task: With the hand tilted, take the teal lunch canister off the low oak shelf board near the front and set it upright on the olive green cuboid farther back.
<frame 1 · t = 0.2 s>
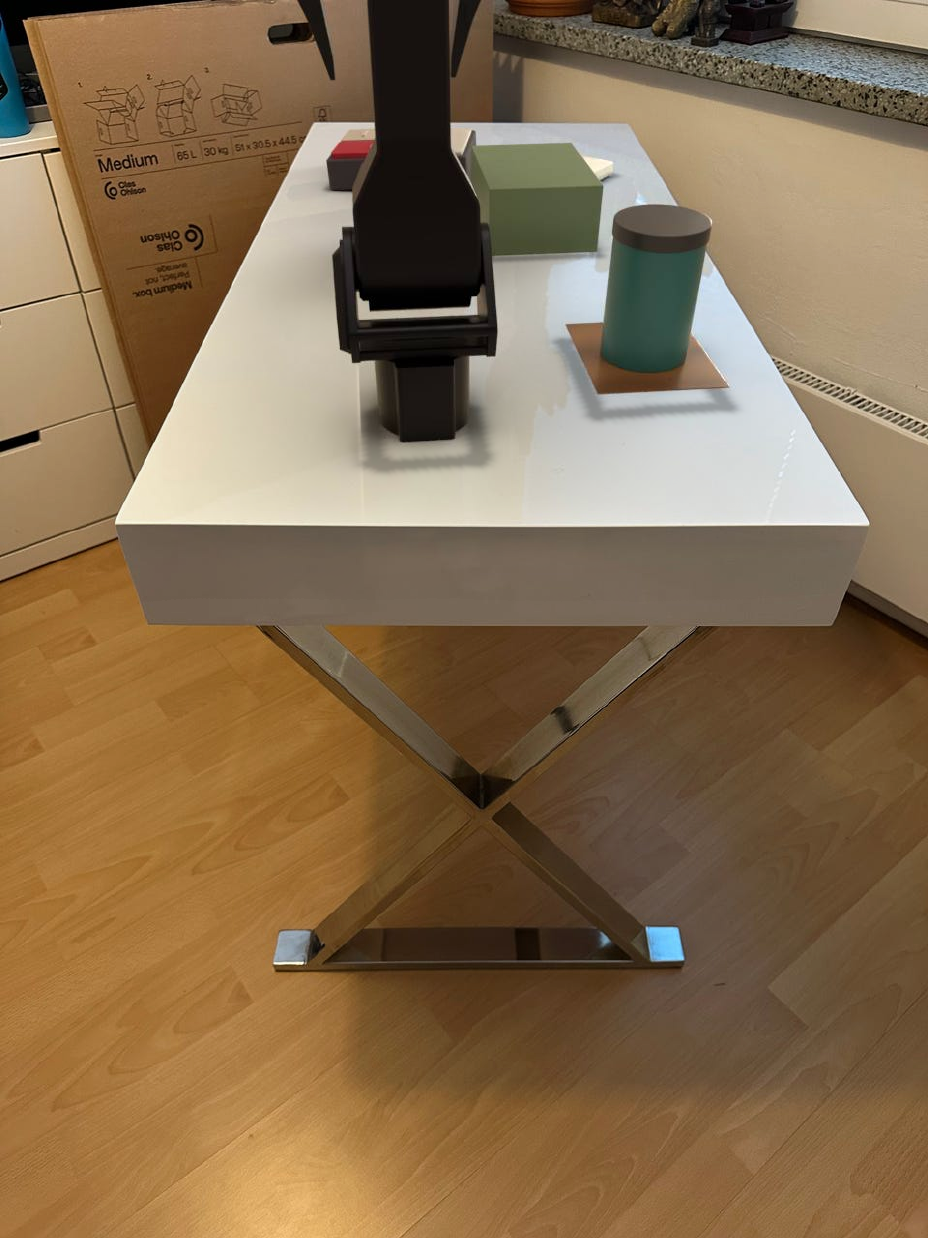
hand: (393, 77, 67), 15 cm above the table, tool pointing down, fingers open, 9 cm apart
hard drive: (552, 185, 96), on the table
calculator: (405, 179, 97), on the table
low shelf: (640, 373, 62), on the table
lunch canister: (643, 353, 61), point 1 cm above the table, touching low shelf
olive green cuboid: (530, 231, 84), on the table
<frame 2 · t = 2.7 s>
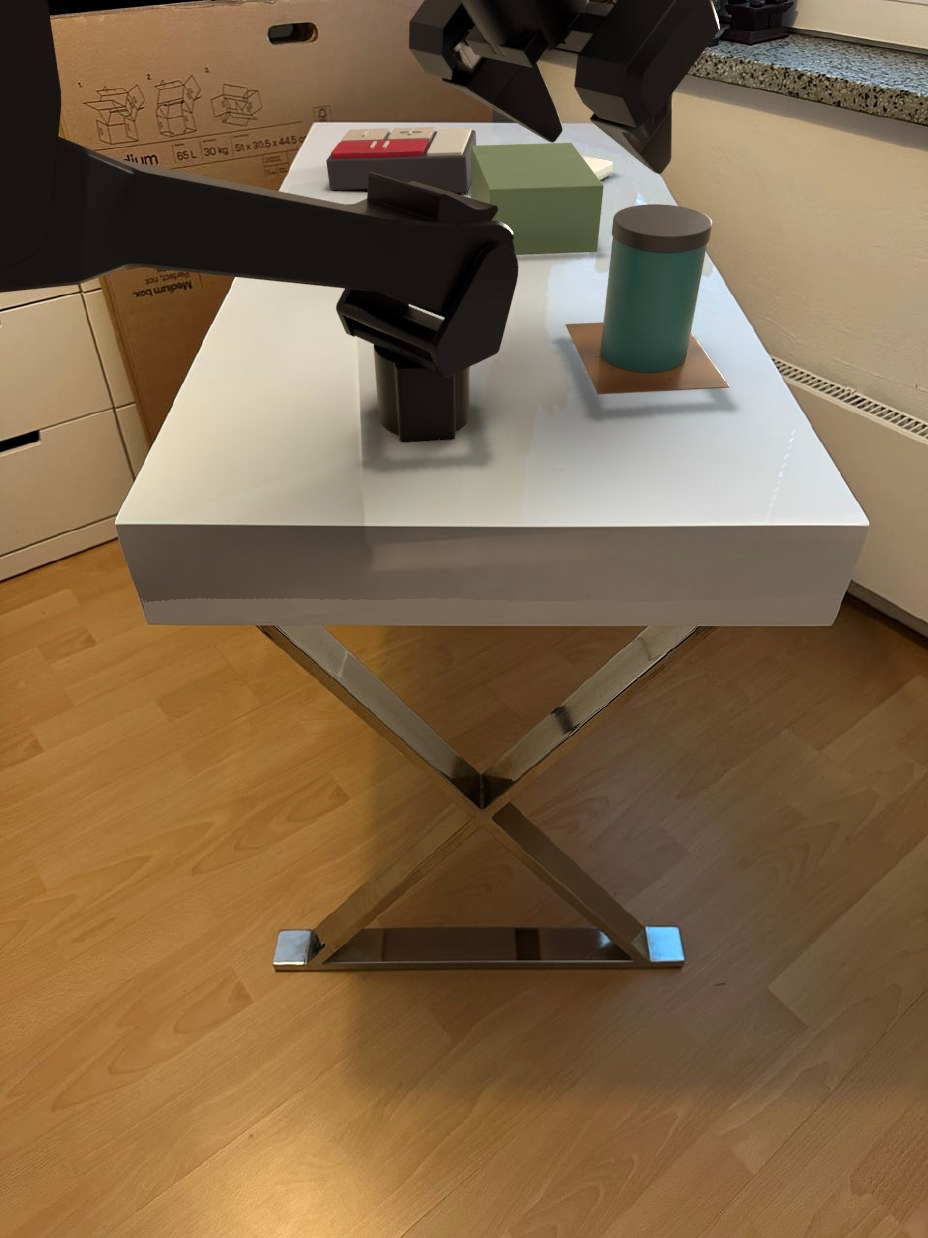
hand: (607, 150, 53), 14 cm above the table, tool tilted 40°, fingers open, 9 cm apart
nothing on the table moved.
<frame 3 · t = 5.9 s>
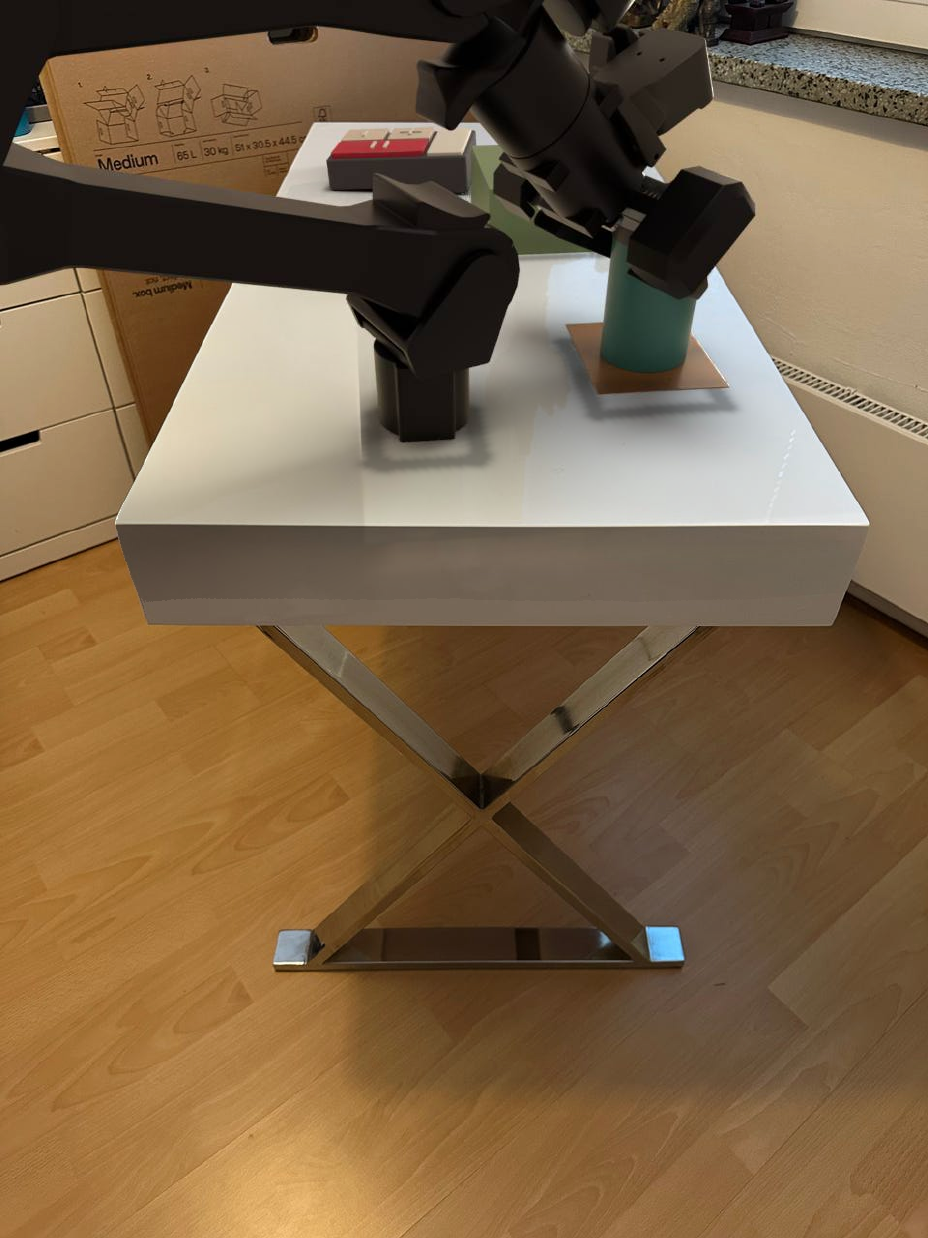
hand: (669, 276, 58), 7 cm above the table, tool tilted 45°, fingers closed on lunch canister, 6 cm apart
lunch canister: (642, 353, 61), point 2 cm above the table, touching gripper, low shelf
everything else where it was.
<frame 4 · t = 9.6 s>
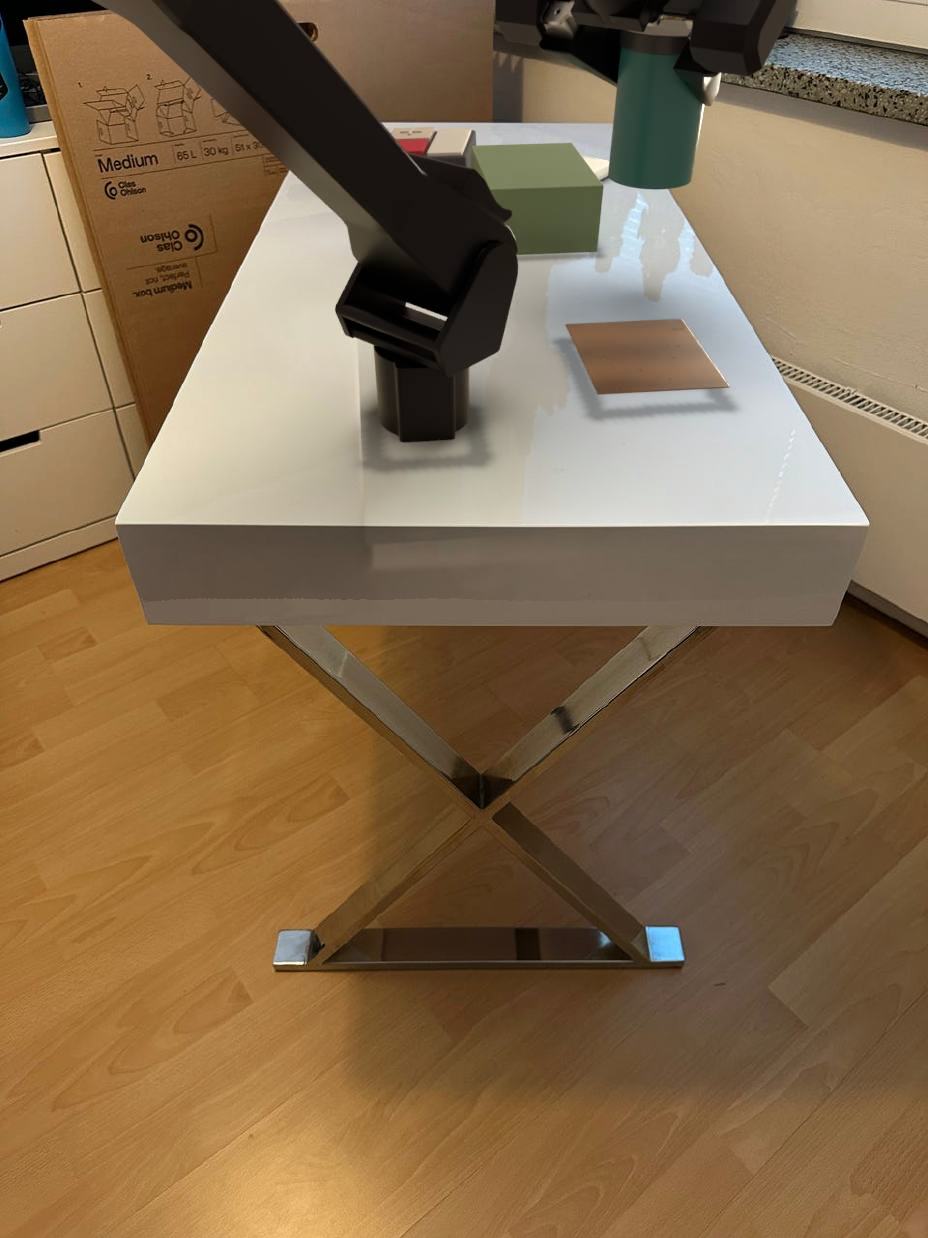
hand: (671, 92, 60), 15 cm above the table, tool tilted 45°, fingers closed on lunch canister, 6 cm apart
lunch canister: (649, 176, 63), point 10 cm above the table, touching gripper
everything else where it was.
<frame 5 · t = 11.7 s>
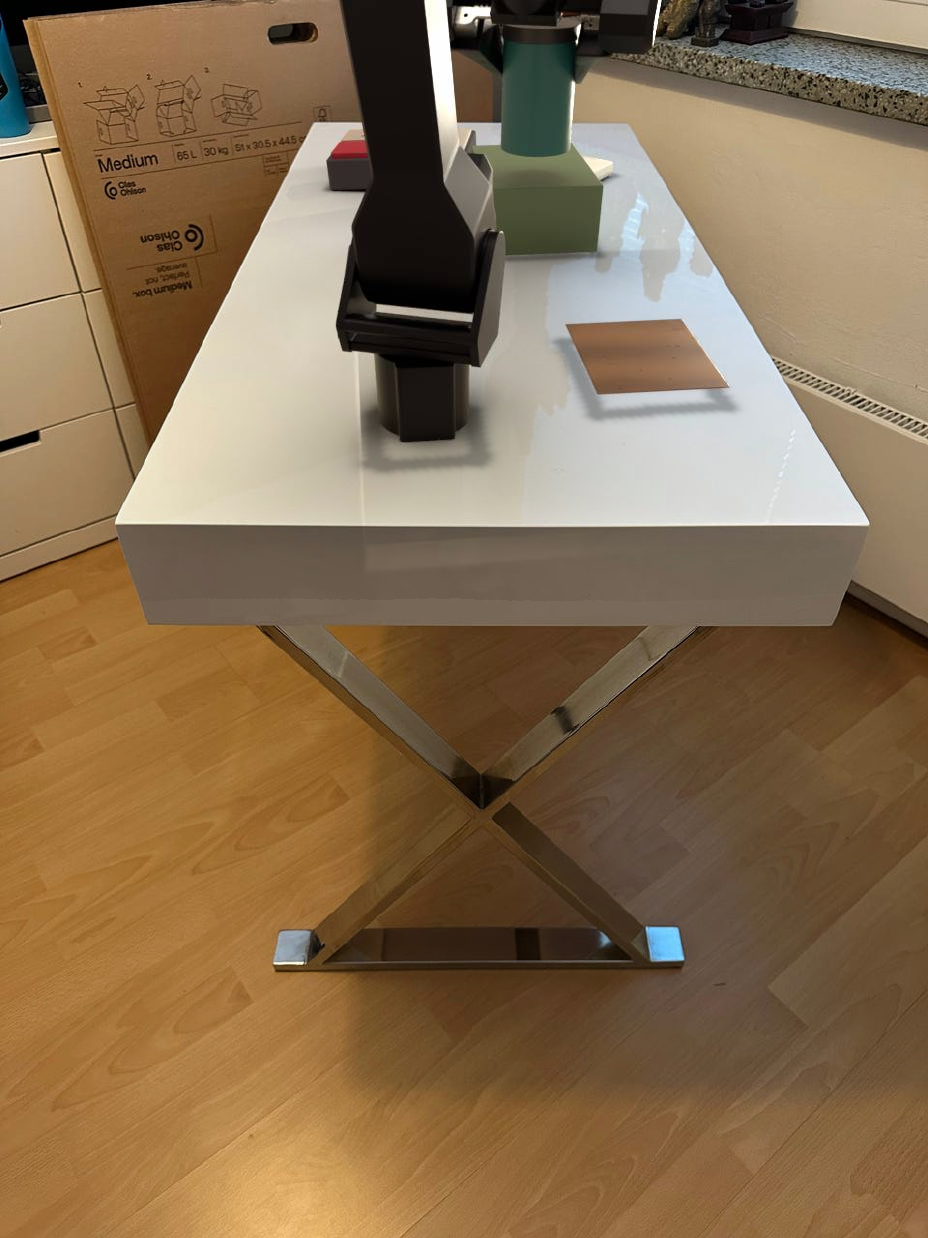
hand: (542, 76, 73), 14 cm above the table, tool tilted 45°, fingers closed on lunch canister, 6 cm apart
lunch canister: (535, 147, 75), point 8 cm above the table, touching gripper
everything else where it was.
when the fingers open (11 cm above the table, at t = 13.3 s): lunch canister stays where it is, resting on olive green cuboid.
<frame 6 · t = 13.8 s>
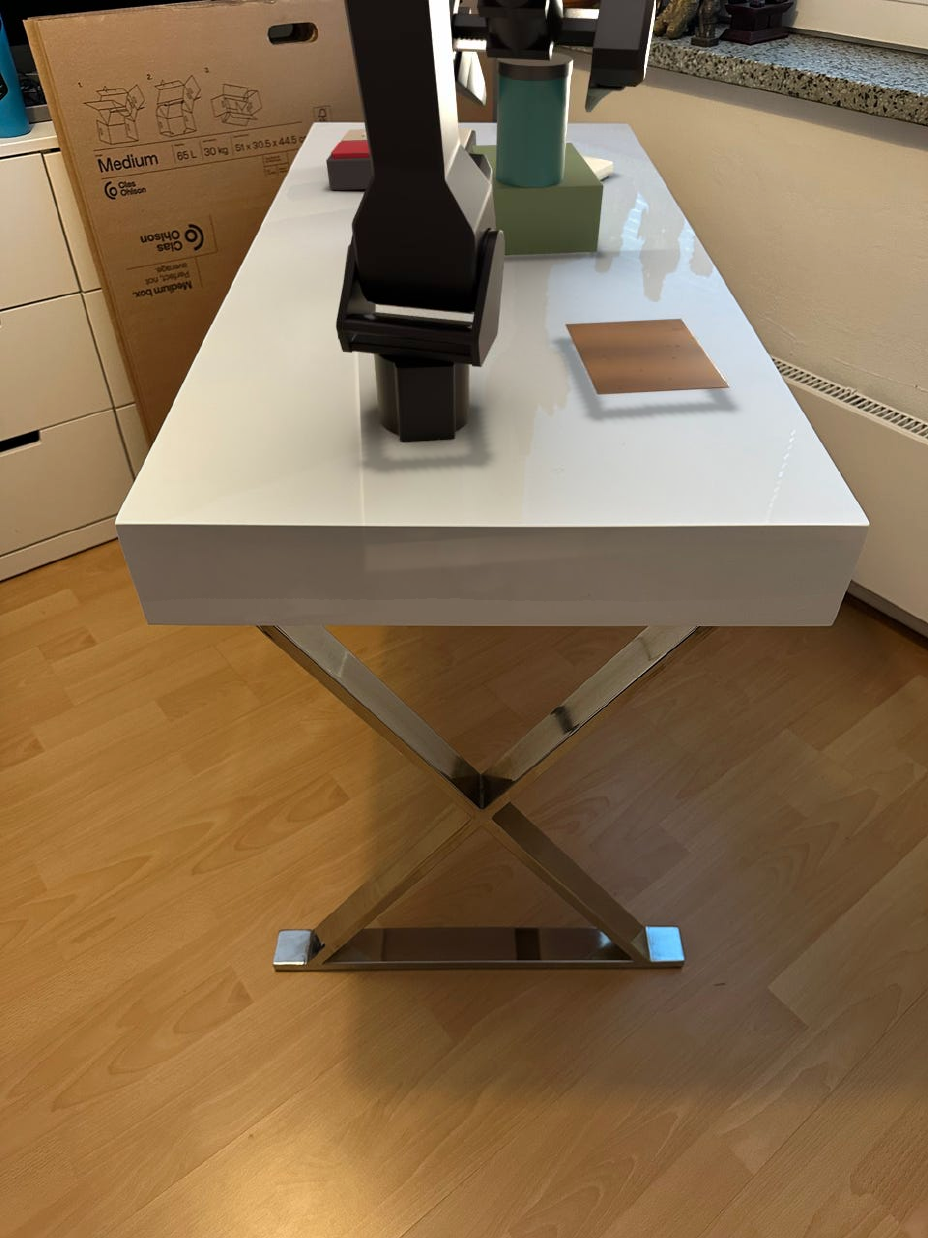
hand: (535, 103, 74), 11 cm above the table, tool tilted 45°, fingers open, 9 cm apart
lunch canister: (529, 177, 77), point 6 cm above the table, touching olive green cuboid
everything else where it was.
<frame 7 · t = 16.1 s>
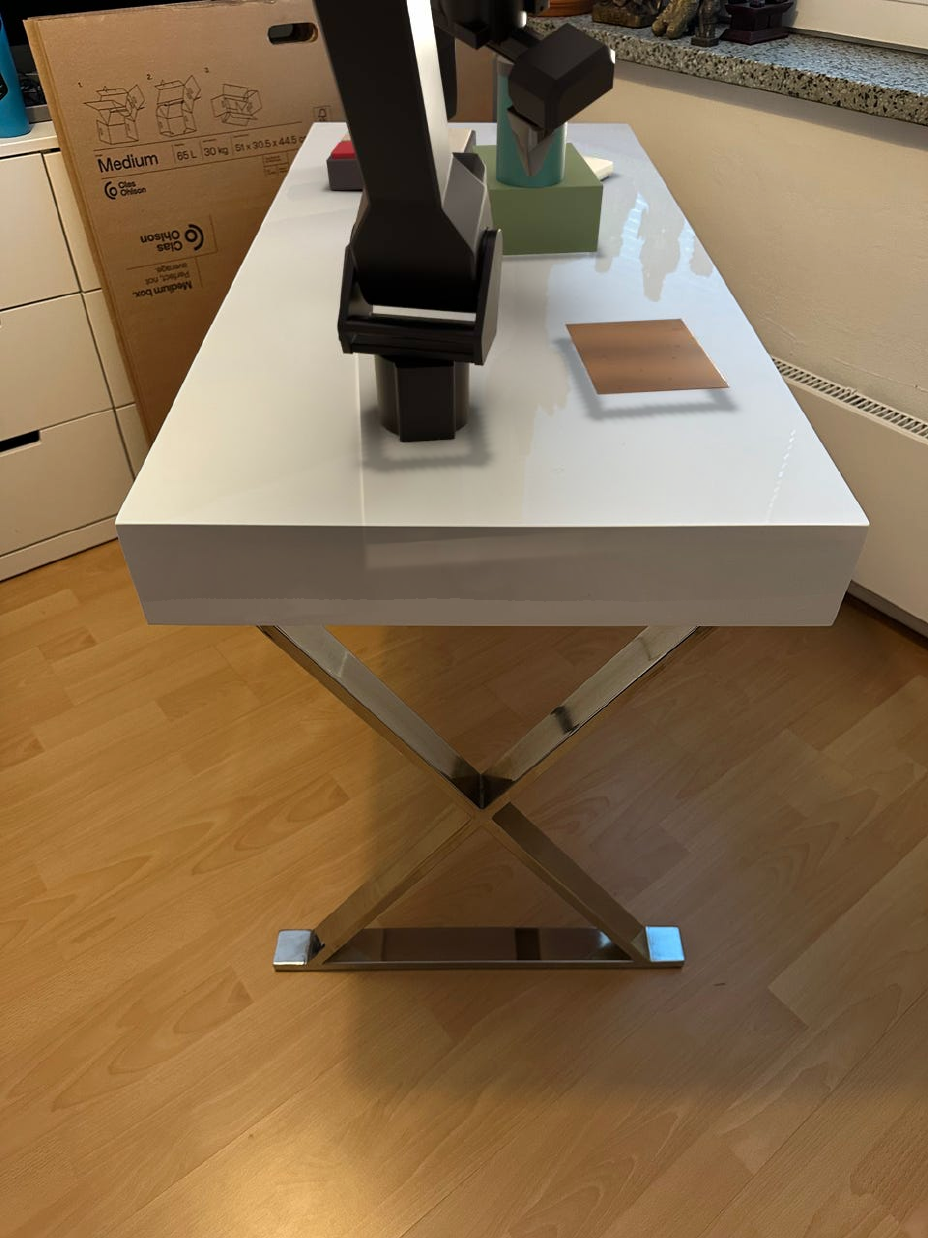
hand: (490, 144, 65), 11 cm above the table, tool tilted 25°, fingers open, 9 cm apart
nothing on the table moved.
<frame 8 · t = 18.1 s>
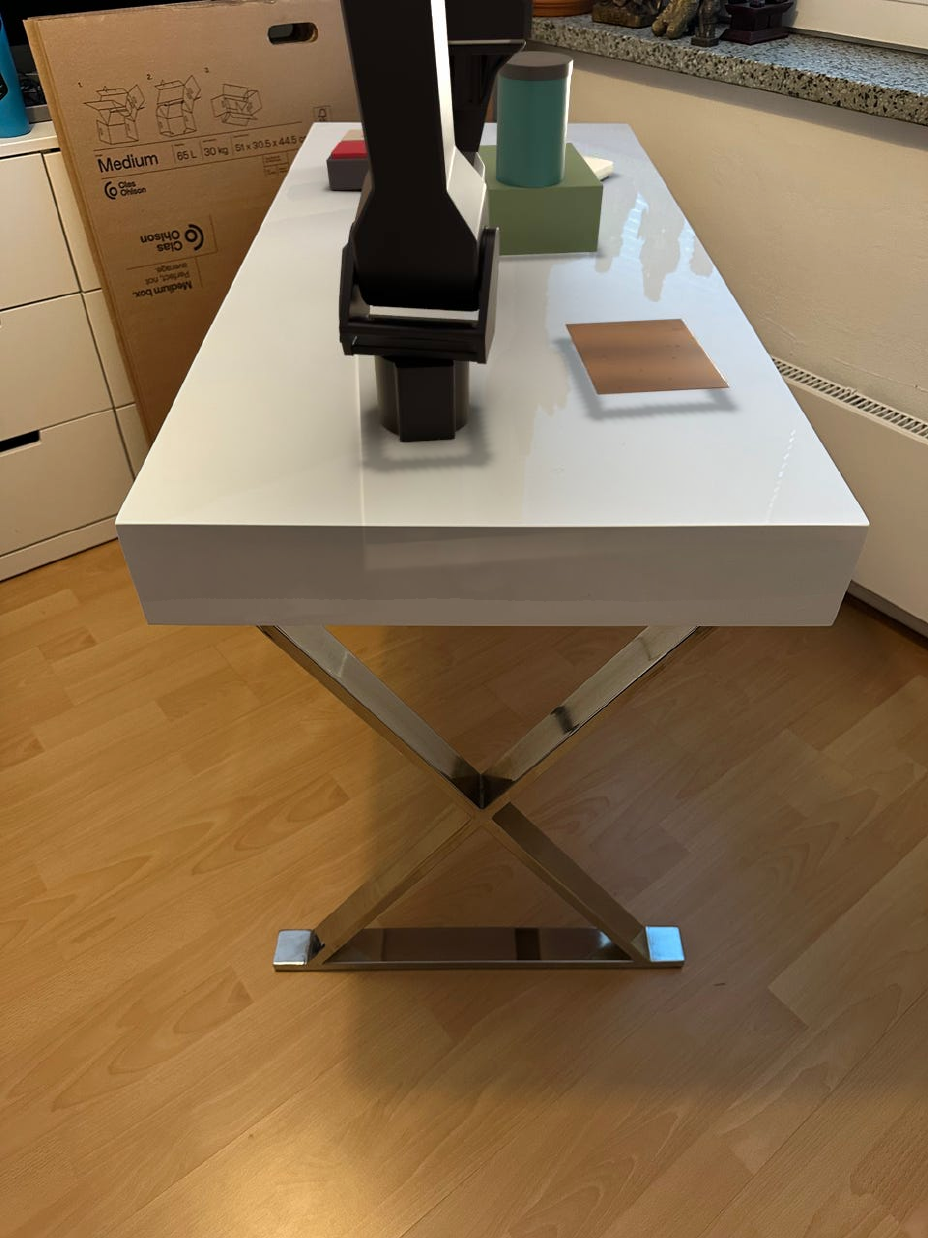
hand: (459, 143, 59), 13 cm above the table, tool pointing down, fingers open, 9 cm apart
nothing on the table moved.
at the end: lunch canister inside the target area on the olive green cuboid (4.1 cm from its centre), point 6.0 cm above the olive green cuboid's base; lunch canister tilted 0°; the gripper is holding nothing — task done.
